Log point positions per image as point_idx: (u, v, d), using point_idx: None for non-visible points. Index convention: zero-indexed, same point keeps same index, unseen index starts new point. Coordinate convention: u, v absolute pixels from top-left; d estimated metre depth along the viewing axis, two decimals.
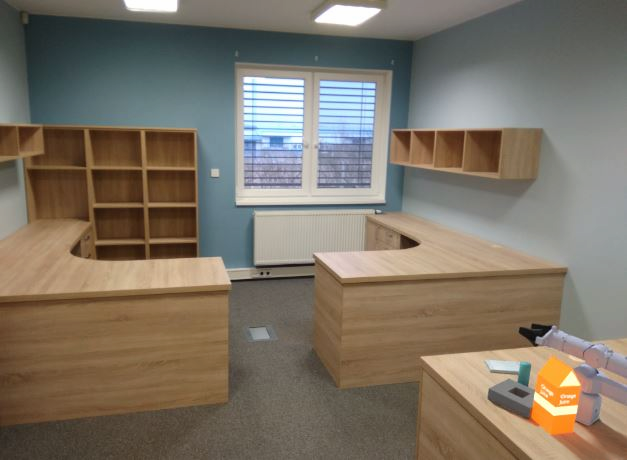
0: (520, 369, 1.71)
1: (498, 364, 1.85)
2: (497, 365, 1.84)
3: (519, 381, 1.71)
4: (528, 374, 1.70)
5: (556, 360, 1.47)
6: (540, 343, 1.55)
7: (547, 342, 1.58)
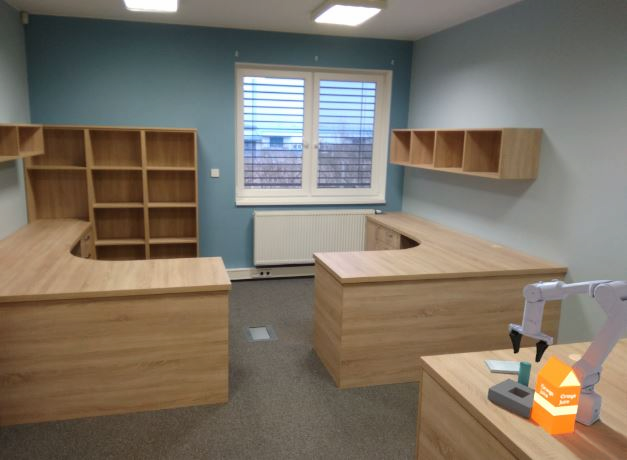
0: (520, 369, 1.71)
1: (498, 364, 1.85)
2: (497, 365, 1.84)
3: (519, 381, 1.71)
4: (528, 374, 1.70)
5: (556, 360, 1.47)
6: None
7: (520, 329, 1.70)
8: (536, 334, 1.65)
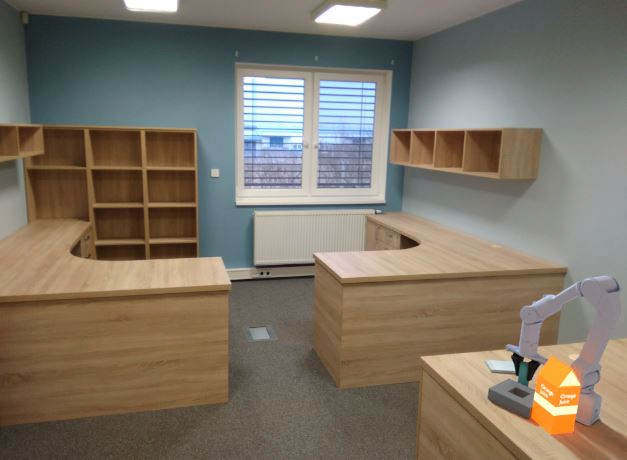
0: (520, 369, 1.71)
1: (498, 364, 1.85)
2: (498, 365, 1.84)
3: (519, 381, 1.71)
4: None
5: (556, 360, 1.47)
6: None
7: (517, 350, 1.71)
8: (533, 355, 1.67)
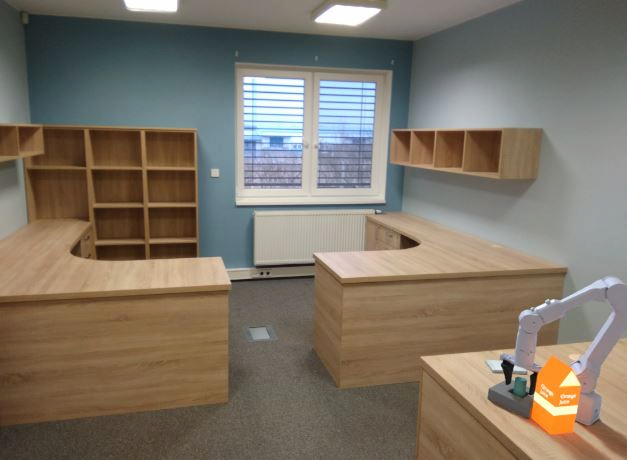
0: (515, 385, 1.59)
1: (499, 364, 1.85)
2: (498, 365, 1.84)
3: None
4: (524, 390, 1.58)
5: (556, 360, 1.47)
6: None
7: (513, 359, 1.60)
8: (530, 365, 1.55)
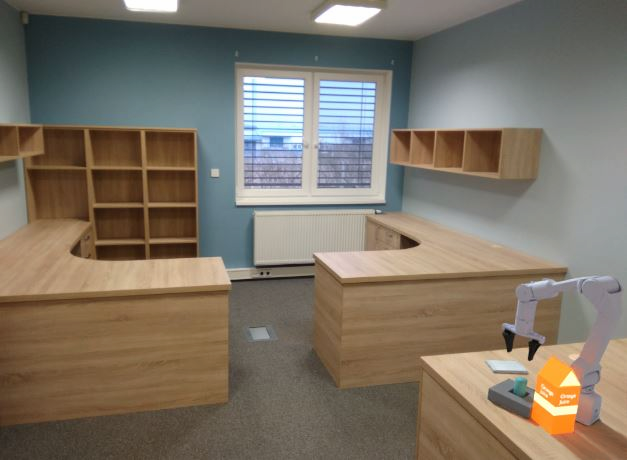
0: (516, 385, 1.59)
1: (499, 364, 1.85)
2: (499, 365, 1.84)
3: None
4: (524, 390, 1.58)
5: (556, 360, 1.47)
6: None
7: (513, 328, 1.73)
8: (528, 333, 1.69)
